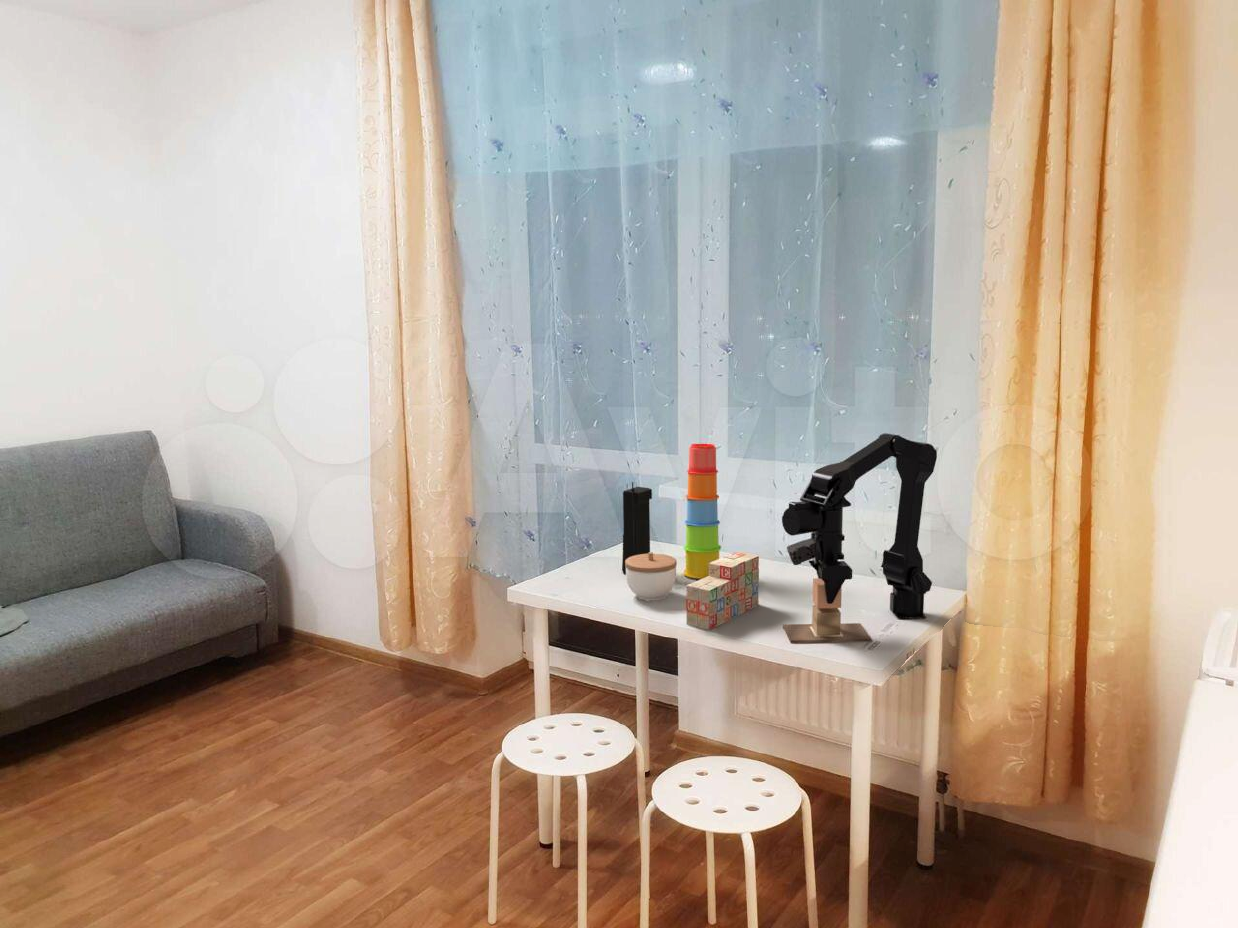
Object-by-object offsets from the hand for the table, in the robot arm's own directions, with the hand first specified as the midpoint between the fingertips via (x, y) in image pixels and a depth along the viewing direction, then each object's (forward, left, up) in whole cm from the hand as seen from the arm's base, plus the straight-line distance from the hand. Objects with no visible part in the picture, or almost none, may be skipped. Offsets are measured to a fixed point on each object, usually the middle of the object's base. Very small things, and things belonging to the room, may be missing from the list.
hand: (827, 599), depth 196 cm
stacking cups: (+23, -45, -8) cm, 51 cm away
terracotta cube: (0, 0, -1) cm, 1 cm away
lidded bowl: (+37, -28, -8) cm, 47 cm away
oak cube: (0, 0, -7) cm, 7 cm away
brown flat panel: (0, 0, -8) cm, 8 cm away
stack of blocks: (+21, -14, -8) cm, 26 cm away
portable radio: (+40, -49, -8) cm, 64 cm away
